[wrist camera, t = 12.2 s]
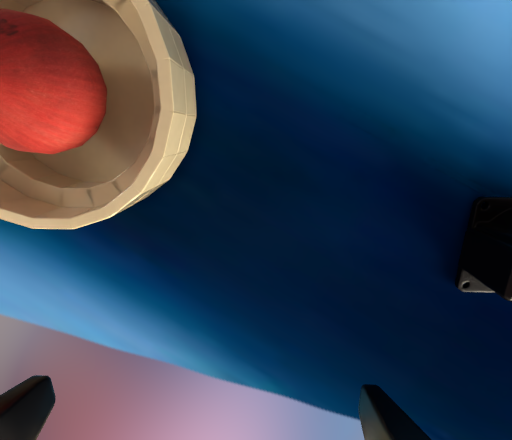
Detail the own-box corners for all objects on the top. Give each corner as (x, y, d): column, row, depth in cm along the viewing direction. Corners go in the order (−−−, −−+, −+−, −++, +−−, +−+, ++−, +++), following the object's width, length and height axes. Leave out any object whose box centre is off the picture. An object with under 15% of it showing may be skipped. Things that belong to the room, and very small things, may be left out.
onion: (13, 86, 17) (-198, 49, 9) (80, 15, 16) (-97, -95, 8) (86, 167, 18) (-46, 194, 10) (154, 107, 17) (61, 88, 9)
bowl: (191, -38, 15) (156, -114, 11) (203, 206, 19) (183, 231, 14) (-52, -34, 16) (-191, -106, 11) (8, 204, 20) (-75, 227, 15)
